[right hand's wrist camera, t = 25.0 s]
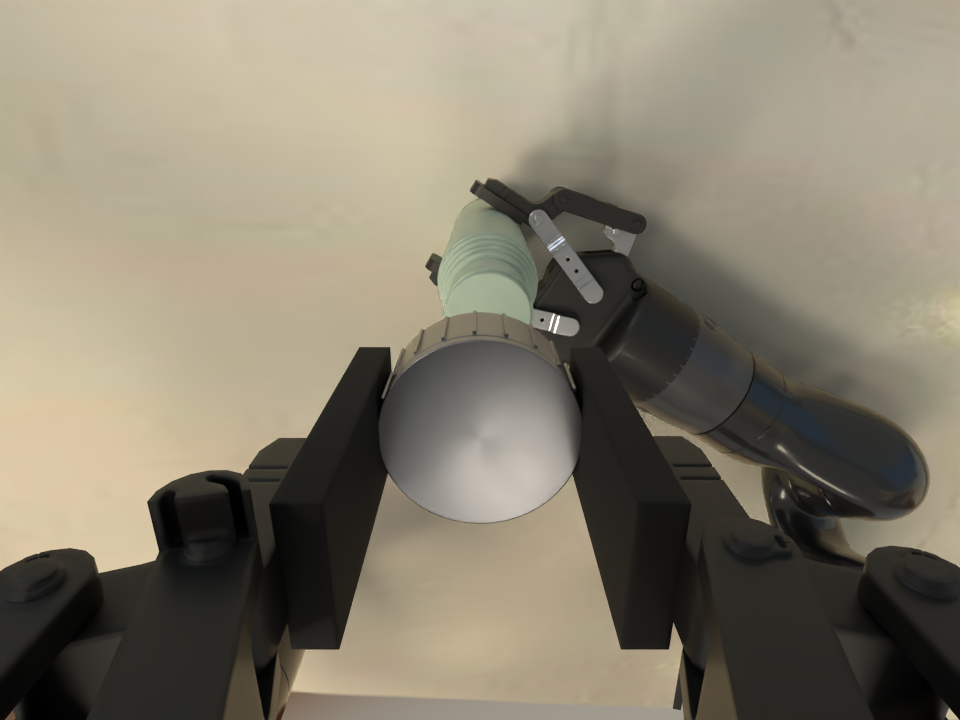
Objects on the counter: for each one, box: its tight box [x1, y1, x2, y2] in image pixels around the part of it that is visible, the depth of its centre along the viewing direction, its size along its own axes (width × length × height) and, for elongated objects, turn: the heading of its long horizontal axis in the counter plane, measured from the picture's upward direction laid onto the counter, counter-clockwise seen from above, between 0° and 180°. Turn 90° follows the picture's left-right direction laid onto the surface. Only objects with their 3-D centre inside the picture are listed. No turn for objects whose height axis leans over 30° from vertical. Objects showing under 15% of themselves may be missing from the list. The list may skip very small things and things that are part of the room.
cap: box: [378, 311, 582, 524], centre depth 14 cm, size 5×5×2 cm
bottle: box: [437, 199, 538, 325], centre depth 33 cm, size 5×5×22 cm
